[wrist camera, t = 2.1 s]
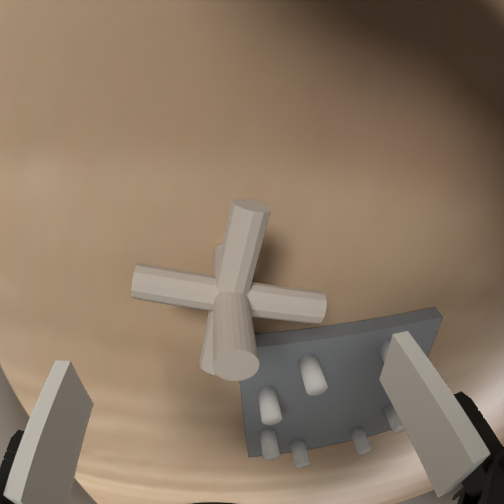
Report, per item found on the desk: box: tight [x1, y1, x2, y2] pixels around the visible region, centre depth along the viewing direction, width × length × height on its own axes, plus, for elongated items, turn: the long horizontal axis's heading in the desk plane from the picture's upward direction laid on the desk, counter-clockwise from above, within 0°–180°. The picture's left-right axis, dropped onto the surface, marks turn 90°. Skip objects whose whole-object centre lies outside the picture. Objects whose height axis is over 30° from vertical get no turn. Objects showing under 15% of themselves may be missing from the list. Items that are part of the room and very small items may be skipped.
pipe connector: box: [131, 198, 327, 381], centre depth 16 cm, size 10×10×10 cm
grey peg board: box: [240, 307, 443, 468], centre depth 26 cm, size 18×18×4 cm
